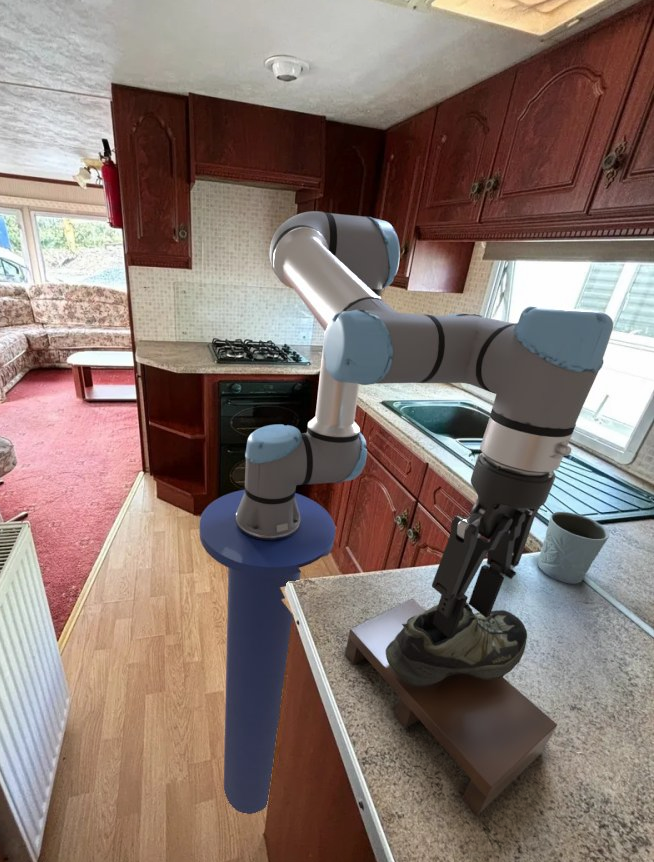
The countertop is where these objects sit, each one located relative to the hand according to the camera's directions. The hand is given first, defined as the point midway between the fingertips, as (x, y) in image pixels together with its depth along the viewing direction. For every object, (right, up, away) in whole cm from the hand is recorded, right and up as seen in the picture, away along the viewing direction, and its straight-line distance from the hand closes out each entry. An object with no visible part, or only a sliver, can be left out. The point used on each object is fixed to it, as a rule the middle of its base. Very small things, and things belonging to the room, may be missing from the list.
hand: (461, 619), depth 53 cm
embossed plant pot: (+38, -4, +36) cm, 52 cm away
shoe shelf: (-1, -15, +7) cm, 16 cm away
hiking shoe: (+1, -7, +5) cm, 9 cm away
